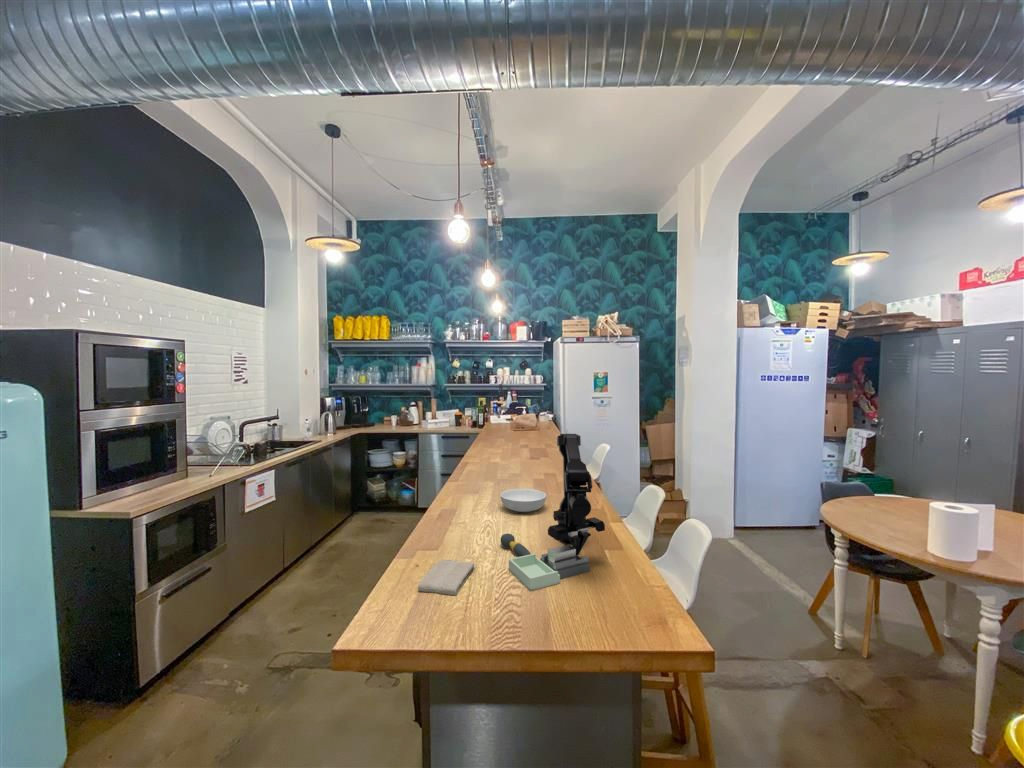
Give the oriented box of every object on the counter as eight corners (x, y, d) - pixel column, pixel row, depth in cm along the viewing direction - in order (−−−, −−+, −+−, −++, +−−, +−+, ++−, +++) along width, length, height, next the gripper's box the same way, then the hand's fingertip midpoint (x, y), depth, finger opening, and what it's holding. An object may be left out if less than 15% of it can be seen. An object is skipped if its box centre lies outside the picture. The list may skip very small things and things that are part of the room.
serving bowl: (547, 517, 181) (548, 501, 181) (499, 516, 181) (499, 501, 181) (544, 502, 202) (544, 488, 202) (501, 502, 202) (501, 487, 202)
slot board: (571, 558, 140) (571, 546, 140) (589, 571, 131) (589, 558, 131) (540, 566, 135) (540, 553, 135) (557, 579, 126) (557, 566, 126)
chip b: (558, 559, 134) (558, 546, 134) (565, 564, 131) (565, 551, 130) (547, 561, 132) (547, 549, 132) (554, 566, 129) (554, 553, 129)
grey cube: (568, 556, 136) (568, 544, 136) (575, 561, 132) (575, 548, 132) (558, 558, 134) (558, 546, 134) (565, 564, 131) (565, 551, 131)
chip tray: (536, 563, 136) (536, 553, 136) (559, 582, 124) (559, 571, 124) (508, 570, 132) (508, 559, 132) (530, 590, 119) (530, 578, 119)
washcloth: (475, 568, 134) (475, 559, 134) (456, 598, 116) (456, 587, 116) (440, 565, 136) (440, 555, 136) (417, 593, 119) (417, 582, 119)
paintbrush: (541, 560, 139) (541, 545, 139) (529, 565, 136) (529, 549, 136) (505, 541, 155) (505, 528, 154) (494, 545, 152) (494, 531, 151)
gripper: (585, 496, 146) (585, 540, 146) (539, 503, 137) (539, 550, 138) (606, 505, 136) (606, 552, 136) (557, 514, 128) (557, 564, 128)
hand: (576, 554), depth 135 cm, fingers closed
